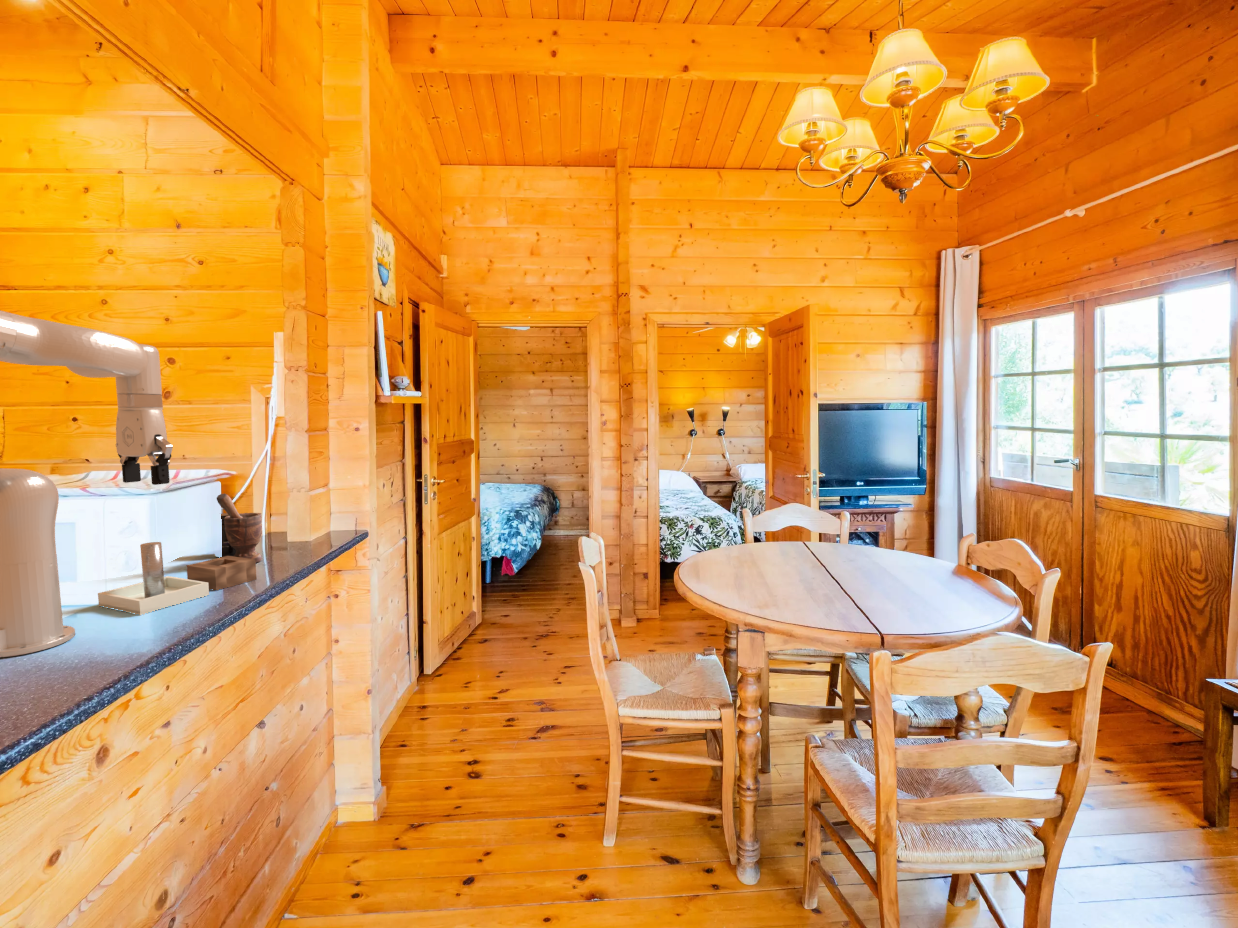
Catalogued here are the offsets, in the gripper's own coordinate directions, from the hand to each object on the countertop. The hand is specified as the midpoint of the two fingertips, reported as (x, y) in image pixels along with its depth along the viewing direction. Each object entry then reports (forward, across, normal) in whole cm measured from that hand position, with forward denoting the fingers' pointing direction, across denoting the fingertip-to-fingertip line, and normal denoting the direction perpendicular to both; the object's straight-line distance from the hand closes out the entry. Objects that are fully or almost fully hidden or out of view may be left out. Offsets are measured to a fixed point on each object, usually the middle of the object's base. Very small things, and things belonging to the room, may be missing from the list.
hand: (146, 482), depth 129 cm
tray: (+26, 0, 0) cm, 26 cm away
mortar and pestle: (+26, -12, +29) cm, 41 cm away
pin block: (+26, 0, +15) cm, 30 cm away
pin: (+25, 0, 0) cm, 25 cm away
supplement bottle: (+26, -25, +34) cm, 50 cm away
